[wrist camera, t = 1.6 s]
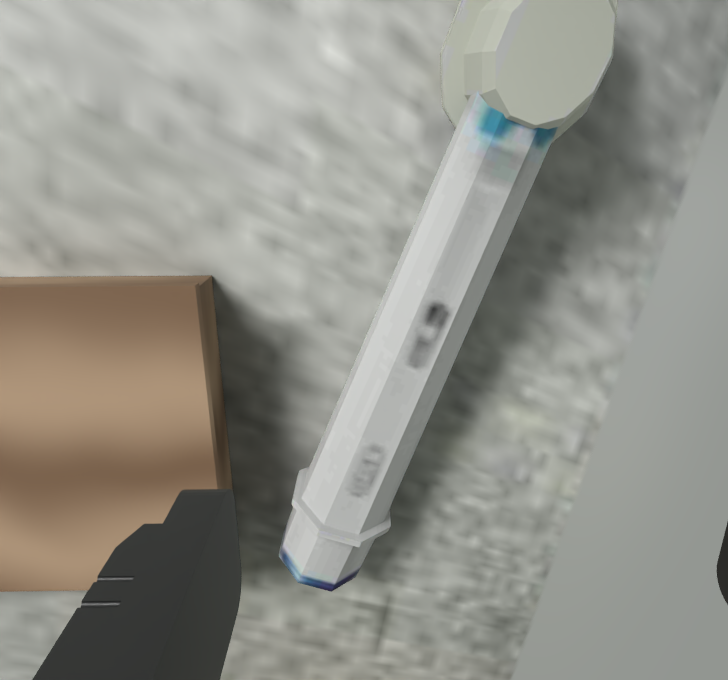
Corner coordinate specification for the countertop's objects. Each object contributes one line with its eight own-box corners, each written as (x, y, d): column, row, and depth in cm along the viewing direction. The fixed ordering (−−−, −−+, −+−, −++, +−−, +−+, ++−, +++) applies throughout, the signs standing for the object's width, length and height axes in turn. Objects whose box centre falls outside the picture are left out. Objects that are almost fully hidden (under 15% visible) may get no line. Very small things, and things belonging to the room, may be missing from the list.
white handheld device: (255, 578, 23) (530, -143, 12) (281, 473, 29) (481, -70, 18) (370, 608, 23) (730, -49, 13) (373, 500, 29) (618, -9, 19)
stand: (-195, 266, 22) (-311, 289, 18) (222, 263, 22) (194, 285, 18) (-103, 530, 26) (-181, 594, 22) (246, 525, 26) (228, 588, 22)
